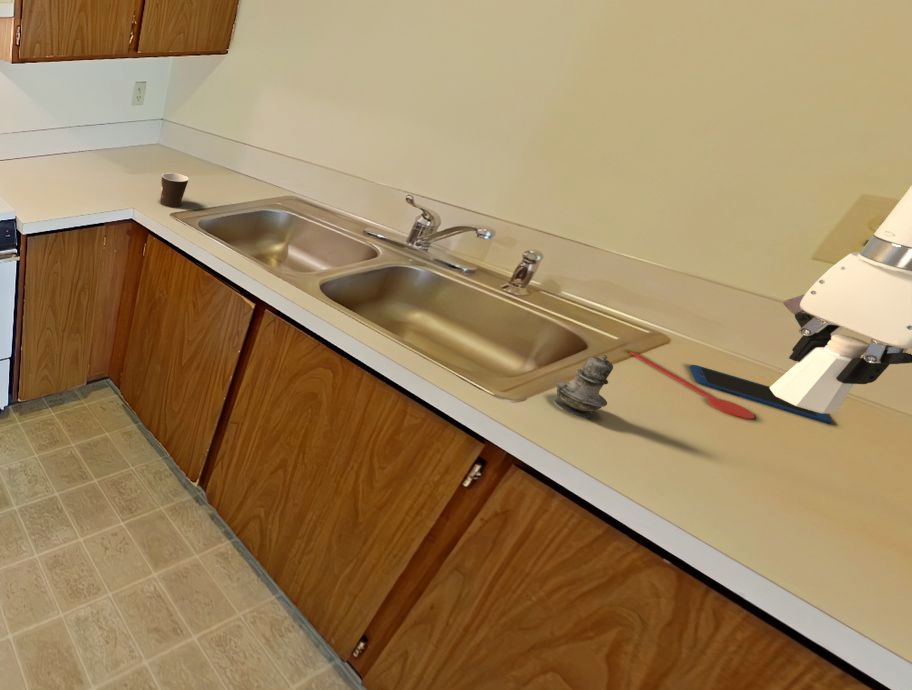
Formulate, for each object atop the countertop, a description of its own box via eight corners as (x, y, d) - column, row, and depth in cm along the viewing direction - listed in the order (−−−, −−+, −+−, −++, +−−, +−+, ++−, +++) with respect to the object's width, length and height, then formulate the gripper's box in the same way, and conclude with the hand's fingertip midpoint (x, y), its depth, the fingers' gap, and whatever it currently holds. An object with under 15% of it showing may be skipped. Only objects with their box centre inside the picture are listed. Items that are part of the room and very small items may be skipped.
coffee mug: (177, 210, 171) (183, 183, 167) (153, 204, 176) (157, 177, 172) (190, 201, 179) (195, 174, 175) (166, 195, 184) (170, 169, 180)
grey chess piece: (563, 417, 88) (597, 362, 83) (538, 393, 93) (569, 341, 88) (607, 425, 86) (644, 370, 81) (579, 401, 91) (613, 347, 87)
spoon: (762, 421, 87) (764, 419, 87) (732, 419, 87) (734, 417, 87) (644, 355, 103) (645, 352, 103) (619, 353, 103) (621, 351, 103)
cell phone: (832, 426, 86) (835, 423, 86) (695, 384, 95) (698, 381, 95) (815, 404, 91) (818, 400, 90) (687, 365, 100) (689, 362, 99)
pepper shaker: (830, 419, 70) (886, 356, 66) (762, 393, 75) (810, 333, 71) (841, 408, 72) (896, 346, 68) (774, 383, 77) (821, 324, 73)
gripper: (1083, 295, 57) (959, 417, 64) (851, 231, 72) (771, 335, 79) (1008, 292, 57) (893, 414, 64) (793, 229, 73) (719, 333, 80)
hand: (827, 370), depth 72 cm, fingers closed on pepper shaker, 3 cm apart
